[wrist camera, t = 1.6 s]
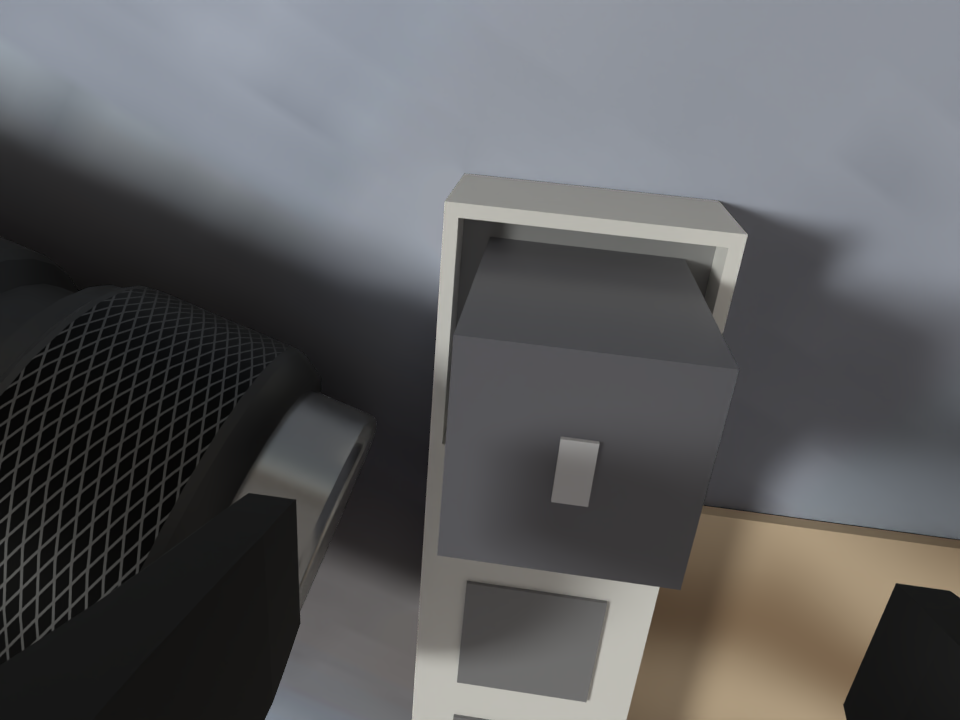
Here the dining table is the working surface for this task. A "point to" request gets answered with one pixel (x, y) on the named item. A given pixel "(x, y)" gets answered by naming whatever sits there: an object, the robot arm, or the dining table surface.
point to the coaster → (776, 616)
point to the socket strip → (522, 591)
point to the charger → (582, 413)
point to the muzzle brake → (145, 438)
